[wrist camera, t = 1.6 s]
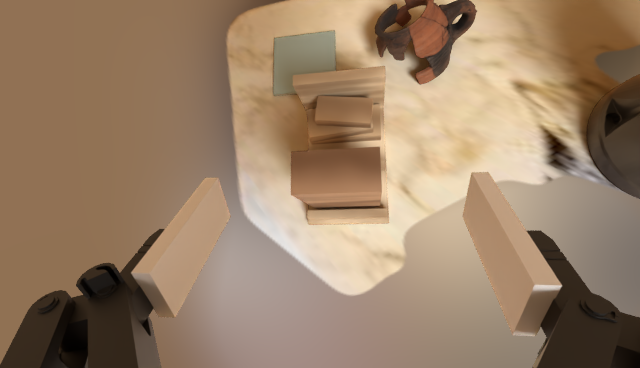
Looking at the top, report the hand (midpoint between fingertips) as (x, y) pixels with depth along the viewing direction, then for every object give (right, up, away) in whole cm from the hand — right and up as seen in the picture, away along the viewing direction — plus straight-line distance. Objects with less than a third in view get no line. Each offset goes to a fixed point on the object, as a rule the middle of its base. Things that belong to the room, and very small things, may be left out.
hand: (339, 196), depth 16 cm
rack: (+3, +3, +24) cm, 25 cm away
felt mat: (-3, +18, +28) cm, 34 cm away
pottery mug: (+13, +19, +26) cm, 34 cm away
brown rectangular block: (+2, 0, +22) cm, 23 cm away
